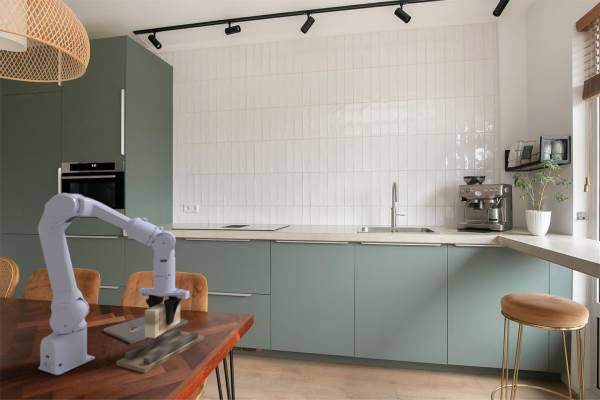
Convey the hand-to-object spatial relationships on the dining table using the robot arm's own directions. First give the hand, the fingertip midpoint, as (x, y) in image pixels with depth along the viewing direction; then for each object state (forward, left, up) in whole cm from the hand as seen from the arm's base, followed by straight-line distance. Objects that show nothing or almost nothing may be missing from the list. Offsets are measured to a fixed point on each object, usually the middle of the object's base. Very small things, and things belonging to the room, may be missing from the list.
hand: (164, 322), depth 94 cm
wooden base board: (0, 0, -8) cm, 8 cm away
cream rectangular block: (0, 0, -2) cm, 2 cm away
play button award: (+11, +19, -9) cm, 24 cm away
